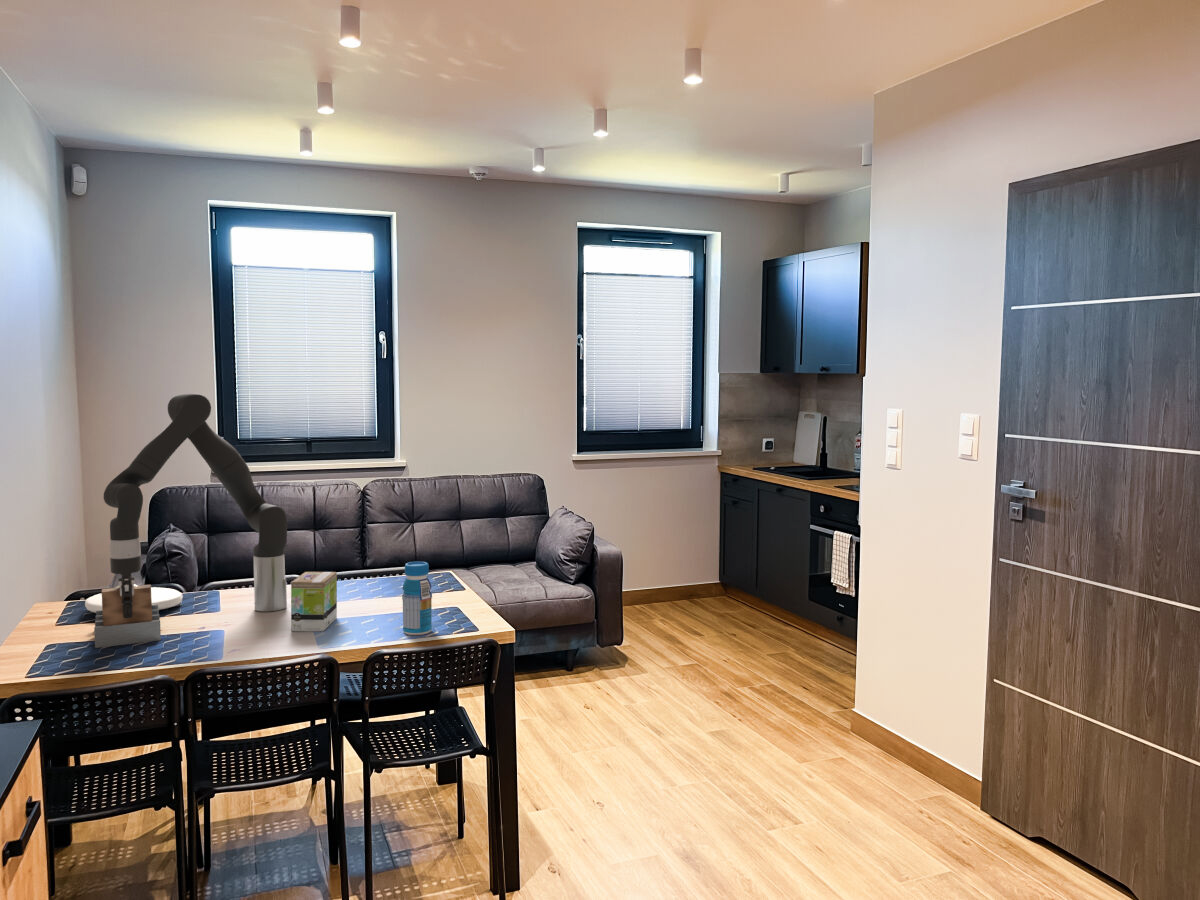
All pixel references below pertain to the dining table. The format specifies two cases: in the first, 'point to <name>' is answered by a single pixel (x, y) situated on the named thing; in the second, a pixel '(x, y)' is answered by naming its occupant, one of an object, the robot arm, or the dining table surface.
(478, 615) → the dining table surface
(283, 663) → the dining table surface
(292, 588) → the tea box
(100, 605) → the plate
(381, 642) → the dining table surface
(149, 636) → the dish rack
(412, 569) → the beverage bottle
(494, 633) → the dining table surface
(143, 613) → the walnut board
